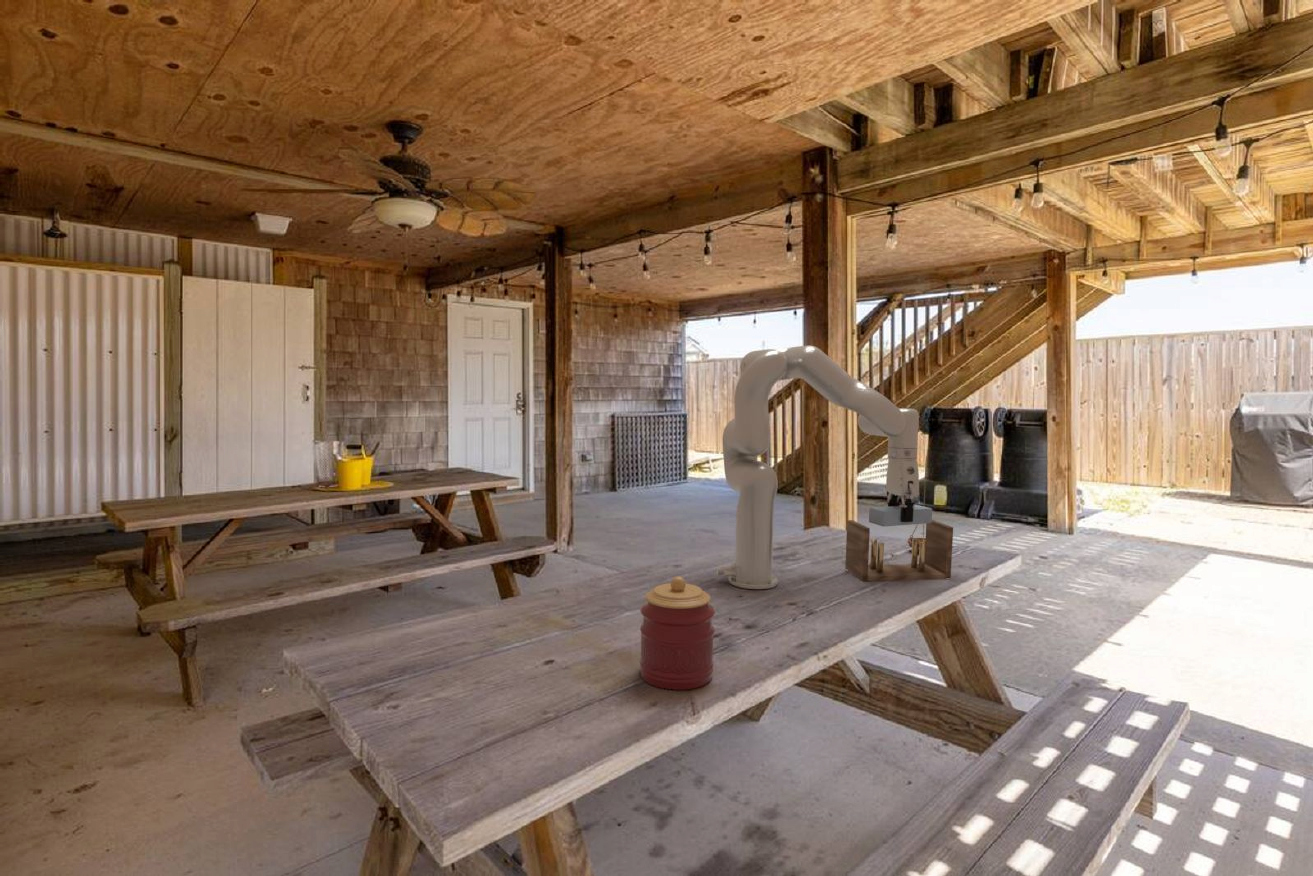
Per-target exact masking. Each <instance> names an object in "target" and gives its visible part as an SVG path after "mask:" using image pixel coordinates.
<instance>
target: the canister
mask: <svg viewBox="0 0 1313 876" xmlns="http://www.w3.org/2000/svg"><path fill="white" fill-rule="evenodd" d="M645 600H646V601H647V602H644V604H642V605H641V606H640V614H641V615H642V616H643V619H642V623H641V625H640V627H639V628H640V629H639V630H640V659H639V670H640V675H641V679H643V681H645V682H646V683H647V684H649V685H651V686H654V687H657V688H659V687H660V689H664V688H665V690H671V689H673V690H672V691H675V690H676V691H683V690H684V691H685V689H686V690H692V689H697V688H700V687H703V686H705V685H706V684H708V683H709V682H710V681H711V679H712V677H713V672H714V669H715V668H714V664H715V662H714V660H713V659H714V634H715V627H714V626H713V624H712V623H713V622H712V620H713V619H712V618H713V617H714V616H715V613H716V610H715V608H714V607H713V606H712V605H711V604H710V601H711V595H710V594H709V593H707V592H706V591H704V590H703V589H702V588H701V587H699V586H698V585H693V584H690V583H687V582H686V581H685V579H684V578H683V577H682V576H675V577H673V578H672V579H671V581H670V582H669V583H663V584H659V585H657V586H655V587H653V589H651V590H649V591H648V592H646V594H645Z"/></svg>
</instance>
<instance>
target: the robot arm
mask: <svg viewBox="0 0 1313 876" xmlns="http://www.w3.org/2000/svg"><path fill="white" fill-rule="evenodd" d="M739 369H740V373H741V375H740V378H739V379H738V382H737V383H736V386H735V390H734V396H733V397H734V398H733V401H734V402H733V404H734V406H733V407H734V408H733V409H734V410H733V412H734V413H733V414H734V418H732V419H731V420H730V421H729V422H728V423H727V424H726V425H725V427H724V429H723V433H722V437H721V438H722V440H721V441H722V454H723V457H722V458H723V466H724V467H723V469H724V476H725V480H726V482H727V484H728V486H729V487H730V488H731V489H732V490H733V491H735V492H737V493H739V497H738V500H737V504H736V505H737V506H736V513H735V542H734V543H735V545H734V546H735V550H734V551H735V552H734V555H735V556H734V562H731V565H729V566H728V567H724V566H721V567H719V566H718V567H716V570H715V571H716V575H717V576H723V577H726V578H727V577H728V583H729V584H730V585H732V586H735V587H737V588H741V589H747V590H765V589H766V590H768V589H771V588H775V587H776V586H778V580H779V579H778V577H776V576H774V575H773V552H774V551H773V550H774V549H773V548H774V546H773V545H774V517H775V516H774V512H775V504H776V503H775V502H776V497H777V493H778V485H779V482H778V476H777V473H776V471H775V470H774V469H773V467H772V466H770V465H769V464H767V463H765V462H764V461H760V460H758V456H761V455H763V454H765V453H766V452H767V451H768V449H769V447H770V445H771V444H770V443H771V432H770V430H771V429H770V418H769V396H770V393H771V391H772V389H773V387H774V386H775V384H776V383H777V382H779V381H785V380H791V379H793V380H794V379H802V380H803V381H805V382H806V384H808V385H810V387H812V388H813V389H814V390H815V391H817V393H819V394H820V395H821V396H823V398H824V399H826V400H827V401H829V403H831V404H834V405H836V406H838V407H840V408H843V409H847V410H849V411H852V412H855V413H856V414H858V417H857V425H858V427H859V429H860V430H861V431H862V432H863V433H864V434H867V435H871V436H876V437H877V436H878V437H879V436H880V437H886V438H888V439H887V459H888V461H887V470H886V477H885V478H886V482H885V492H886V495H887V496H886V497H887V499H886V501H887V507H890V506H901V504H902V506H903V507H901V522H913V508H914V506H915V505H916V502H917V499H918V498H919V494H920V479H919V478H920V477H919V475H920V474H919V473H920V472H919V465H918V445H919V443H918V441H919V440H918V439H919V420H920V419H919V418H920V414H919V411H918V410H917V409H915V408H903V407H901V408H899V407H897V405H896V404H894V402H892V400H890V399H888V398H887V397H886V396H885V395H883V394H882V393H881V392H879V391H877V390H875V389H874V388H872V387H870V386H869V385H867V384H865V383H864V382H862V381H860V380H858V379H856V378H854V377H853V376H852V375H850V374H849V373H848V372H847V371H846V370H845V369H844V368H842V367H841V366H840V365H839V364H838V363H836V361H834V360H833V359H832V358H831V357H829V356H828V355H827V354H826V353H825V352H824V351H822V350H821V349H820V348H819V347H817V346H814V345H799V346H792V347H791V346H790V347H786V348H785V347H784V348H775V349H774V348H772V349H771V348H769V349H768V348H767V349H762V350H761V349H759V350H753V351H752V350H751V351H750V352H748V353H746V354H745V355H744V356H743V358H742V359H741V361H740V367H739ZM900 498H901V504H900V501H899V500H900Z"/></svg>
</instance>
